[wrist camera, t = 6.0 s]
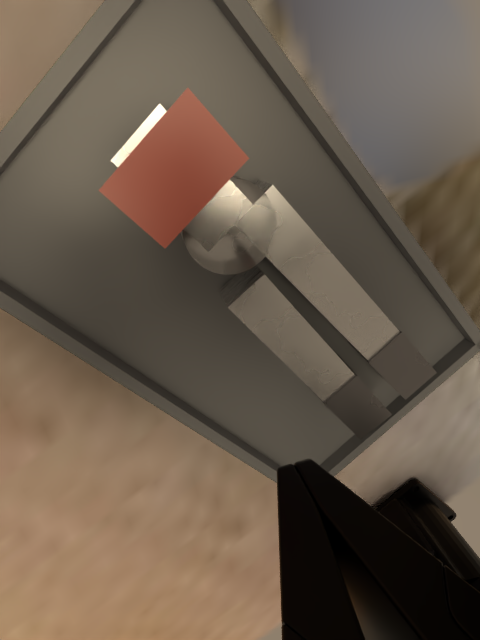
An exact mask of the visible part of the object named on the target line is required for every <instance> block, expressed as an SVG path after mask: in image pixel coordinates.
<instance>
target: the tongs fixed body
mask: <svg viewBox="0 0 480 640" xmlns="http://www.w3.org/2000/svg"><path fill="white" fill-rule="evenodd" d="M166 112H167V111H166V110H165V109H164V108H163V107H162V105H161V104H159V105H158V106H157V107H156V108H155V110H154V111H153V112H152V113H151V114H150V115H149V117H148V118H147V119H146V120H145V121H144V122H143V123H142V125H141V126H140V127H139V128H138V129H137V130H136V132H135V133H134V134H133V135H132V136H131V137H130V139H129V140H128V141H127V142H126V143H125V144H124V146H123V147H122V148H121V149H120V150H119V151H118V153H117V154H116V155H115V156H114V157H113V158H112V160H111V161H112V162H113V163H114V164H115V165H116V166H117V167H119V166H120V165H121V164H122V162H123V161H124V160H125V159H126V158H127V157H128V156H129V154H130V153H131V152H132V151H133V150H134V149H135V147H136V146H137V145H138V144H139V143H140V142H141V141H142V139H143V138H144V137H145V136H146V135H147V134H148V132H149V131H150V130H151V129H152V128H153V127H154V126H155V124H156V123H157V122H158V121H159V120H160V119H161V117H162V116H163V115H164V114H165V113H166ZM180 233H181V235H182V238H183V240H184V243H185V245H186V248H187V250H188V252H189V253H190V255H191V256H192V258H193V259H194V260H195V261H196V262H197V263H198V264H199V265H201V266H202V267H203V268H205V269H207V270H209V271H211V272H214V273H218V274H224V275H232V274H238V273H242V272H245V271H247V270H249V269H251V268H253V267H254V266H256V265H257V264H258V263H259V262H261V261H262V260H263V258H264V257H266V258H267V259H268V260H269V261H270V262H271V263H272V264H273V265H274V266H275V267H276V268H277V269H278V270H279V271H280V272H281V273H282V274H283V275H284V276H285V277H286V278H287V279H288V280H289V281H290V282H291V283H292V284H293V285H294V286H295V287H296V288H297V290H298V291H299V292H300V293H301V294H302V295H303V296H304V297H305V298H306V299H307V300H308V301H309V302H310V303H311V304H312V305H313V306H314V307H315V308H316V309H317V310H318V311H319V312H320V313H321V314H322V315H323V316H324V317H325V318H326V319H327V320H328V321H329V322H330V323H331V324H332V325H333V326H334V327H335V328H336V329H337V330H338V331H339V332H340V333H341V334H342V335H343V336H344V337H345V338H346V339H347V340H348V341H349V342H348V343H349V344H350V345H351V346H352V347H353V348H354V349H355V350H356V351H357V352H358V353H359V354H360V355H361V356H362V357H363V358H364V359H365V360H366V361H367V362H368V363H369V364H370V365H371V366H372V367H373V368H374V369H375V370H376V371H377V372H378V373H379V374H380V375H381V376H382V377H383V378H384V379H385V380H386V381H387V382H388V383H389V384H390V385H391V386H392V387H393V388H394V389H395V390H396V391H397V392H398V393H399V394H400V395H401V396H402V397H403V398H404V399H405V400H406V399H407V398H408V397H410V396H411V395H412V394H413V393H414V392H415V391H416V390H418V389H419V388H420V387H421V386H422V385H423V384H424V383H426V382H427V381H428V380H429V379H430V378H431V377H433V376H434V375H435V374H436V373H437V372H436V371H435V370H434V369H433V367H432V366H431V365H430V364H429V363H428V362H427V361H426V359H425V358H424V357H423V356H422V355H421V354H420V352H419V351H418V350H417V349H416V348H415V347H414V345H413V344H412V343H411V342H410V341H409V340H408V338H407V337H406V336H405V335H404V334H403V333H402V332H401V331H400V330H399V329H397V328H396V327H395V326H394V324H393V323H392V322H391V321H390V320H389V319H388V317H387V316H386V315H385V314H384V313H383V312H382V311H381V309H380V308H379V307H378V306H377V305H376V304H375V302H374V301H373V300H372V299H371V298H370V297H369V295H368V294H367V293H366V292H365V291H364V290H363V289H362V287H361V286H360V285H359V284H358V283H357V282H356V280H355V279H354V278H353V277H352V276H351V275H350V274H349V272H348V271H347V270H346V269H345V268H344V267H343V265H342V264H341V263H340V262H339V261H338V260H337V259H336V257H335V256H334V255H333V254H332V253H331V252H330V250H329V249H328V248H327V247H326V246H325V245H324V243H323V242H322V241H321V240H320V239H319V238H318V237H317V235H316V234H315V233H314V232H313V231H312V230H311V228H310V227H309V226H308V225H307V224H306V223H305V222H304V220H303V219H302V218H301V217H300V216H299V215H298V213H297V212H296V211H295V210H294V209H293V208H292V206H291V205H290V204H289V203H288V202H287V201H286V200H285V198H284V197H283V196H282V195H281V194H280V193H279V191H278V190H277V189H276V188H275V187H274V186H273V185H272V184H269V183H267V182H264V181H261V180H257V181H256V182H255V184H253V183H251V182H249V181H247V180H244V179H242V178H240V177H237V176H234V175H233V176H232V177H231V178H230V180H229V181H228V182H227V183H226V184H225V185H224V186H223V187H222V188H221V189H220V190H219V191H218V192H217V194H216V195H215V196H214V197H213V198H212V199H211V200H210V201H209V202H208V203H207V204H206V205H205V206H204V207H203V209H202V210H201V211H200V212H199V213H198V214H197V215H196V216H195V217H194V218H193V219H192V220H191V221H190V223H189V224H188V225H187V226H186V227H185V228H184V229H183V230H182V231H181V232H180Z"/></svg>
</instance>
